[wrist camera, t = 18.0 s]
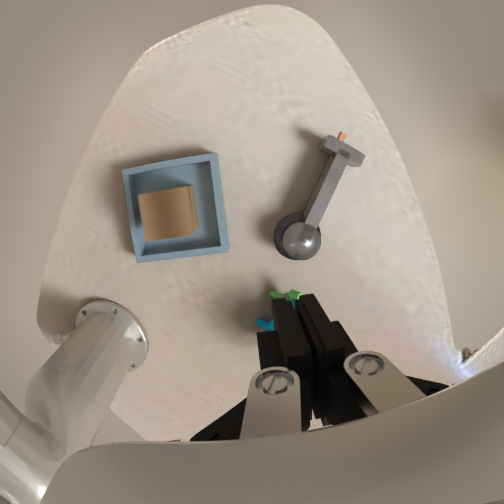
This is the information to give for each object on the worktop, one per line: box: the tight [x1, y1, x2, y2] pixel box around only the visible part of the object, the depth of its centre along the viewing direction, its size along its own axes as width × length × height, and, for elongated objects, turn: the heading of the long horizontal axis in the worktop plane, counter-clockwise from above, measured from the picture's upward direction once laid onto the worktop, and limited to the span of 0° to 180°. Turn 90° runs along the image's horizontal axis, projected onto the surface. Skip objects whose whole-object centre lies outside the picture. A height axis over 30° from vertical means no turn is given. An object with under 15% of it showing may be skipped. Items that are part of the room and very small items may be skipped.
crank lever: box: [281, 135, 365, 260], centre depth 33 cm, size 15×5×3 cm, turn 156°
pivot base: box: [274, 132, 346, 260], centre depth 35 cm, size 6×18×1 cm, turn 146°
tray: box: [122, 153, 229, 263], centre depth 33 cm, size 12×12×2 cm
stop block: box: [138, 185, 199, 242], centre depth 31 cm, size 5×5×6 cm
